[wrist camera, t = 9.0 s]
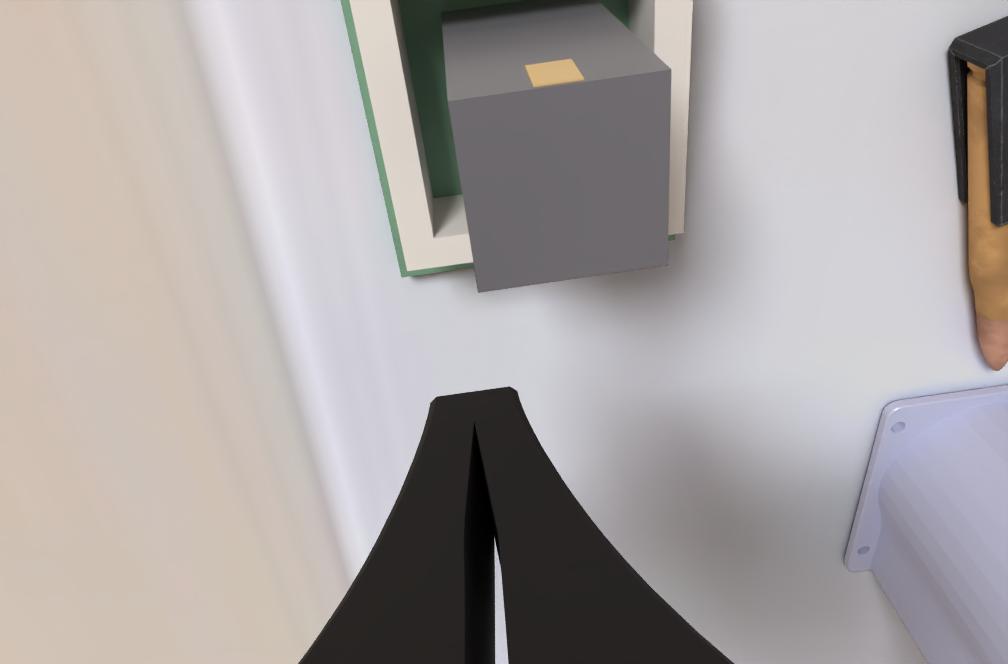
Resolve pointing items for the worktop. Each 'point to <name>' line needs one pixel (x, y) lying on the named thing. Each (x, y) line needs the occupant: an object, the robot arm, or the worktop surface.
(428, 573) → the robot arm
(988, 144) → the ammunition clip
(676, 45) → the board
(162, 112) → the worktop surface
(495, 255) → the plug
